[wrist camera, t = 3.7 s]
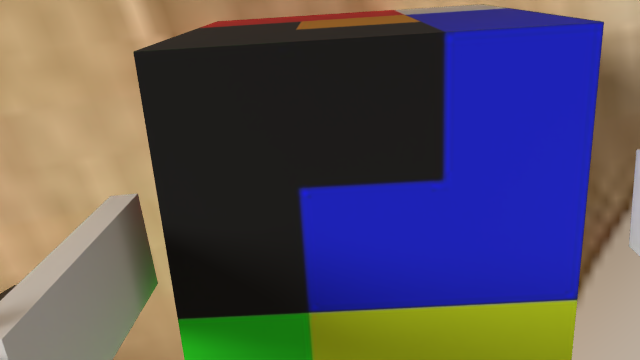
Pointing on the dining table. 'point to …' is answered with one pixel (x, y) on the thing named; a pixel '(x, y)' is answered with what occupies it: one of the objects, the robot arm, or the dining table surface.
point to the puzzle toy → (375, 182)
